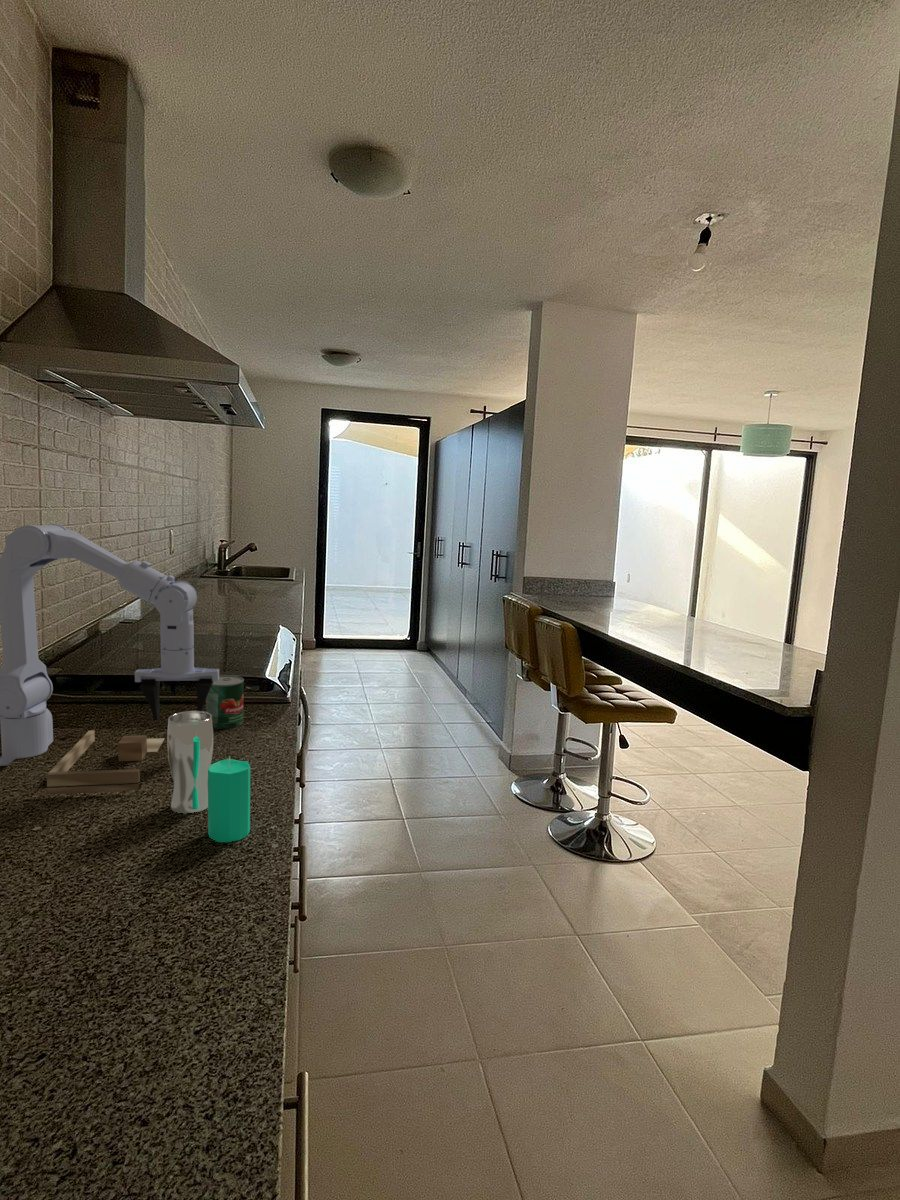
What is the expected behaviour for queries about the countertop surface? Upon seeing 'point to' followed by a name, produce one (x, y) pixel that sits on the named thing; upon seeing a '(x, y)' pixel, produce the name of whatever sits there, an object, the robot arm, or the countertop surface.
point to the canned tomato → (226, 702)
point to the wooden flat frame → (93, 772)
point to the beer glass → (190, 759)
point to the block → (132, 748)
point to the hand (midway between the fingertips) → (178, 718)
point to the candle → (229, 800)
